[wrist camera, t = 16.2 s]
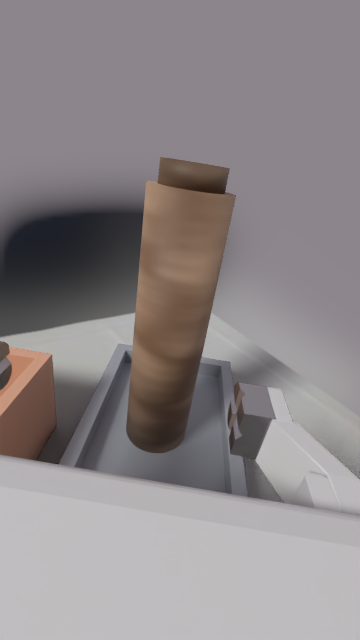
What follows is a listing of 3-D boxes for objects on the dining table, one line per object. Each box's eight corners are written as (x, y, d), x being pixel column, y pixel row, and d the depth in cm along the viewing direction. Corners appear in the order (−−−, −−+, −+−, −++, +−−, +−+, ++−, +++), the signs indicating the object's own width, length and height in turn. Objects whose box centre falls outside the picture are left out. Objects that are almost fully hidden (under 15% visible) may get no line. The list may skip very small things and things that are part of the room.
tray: (225, 380, 32) (229, 361, 31) (244, 584, 16) (256, 561, 15) (117, 362, 32) (118, 343, 31) (32, 549, 16) (28, 523, 15)
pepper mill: (186, 411, 26) (236, 170, 17) (183, 458, 22) (246, 170, 13) (133, 402, 26) (156, 157, 17) (119, 447, 22) (139, 153, 13)
